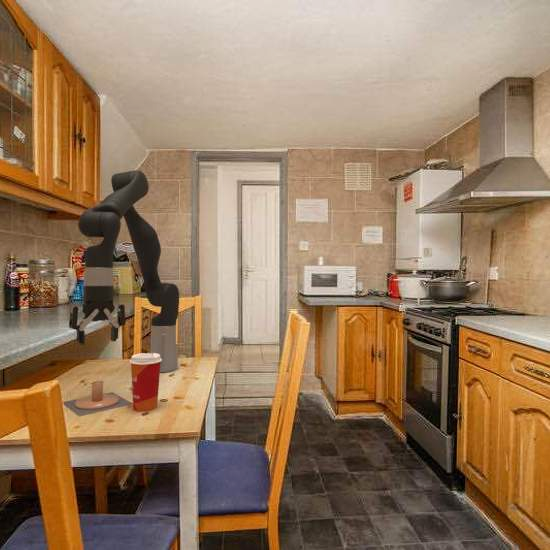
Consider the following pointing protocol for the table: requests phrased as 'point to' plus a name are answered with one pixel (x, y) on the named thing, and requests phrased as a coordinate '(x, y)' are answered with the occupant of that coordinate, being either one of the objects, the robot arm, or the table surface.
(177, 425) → the table surface
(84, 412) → the mat
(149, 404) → the coffee cup
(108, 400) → the lid
